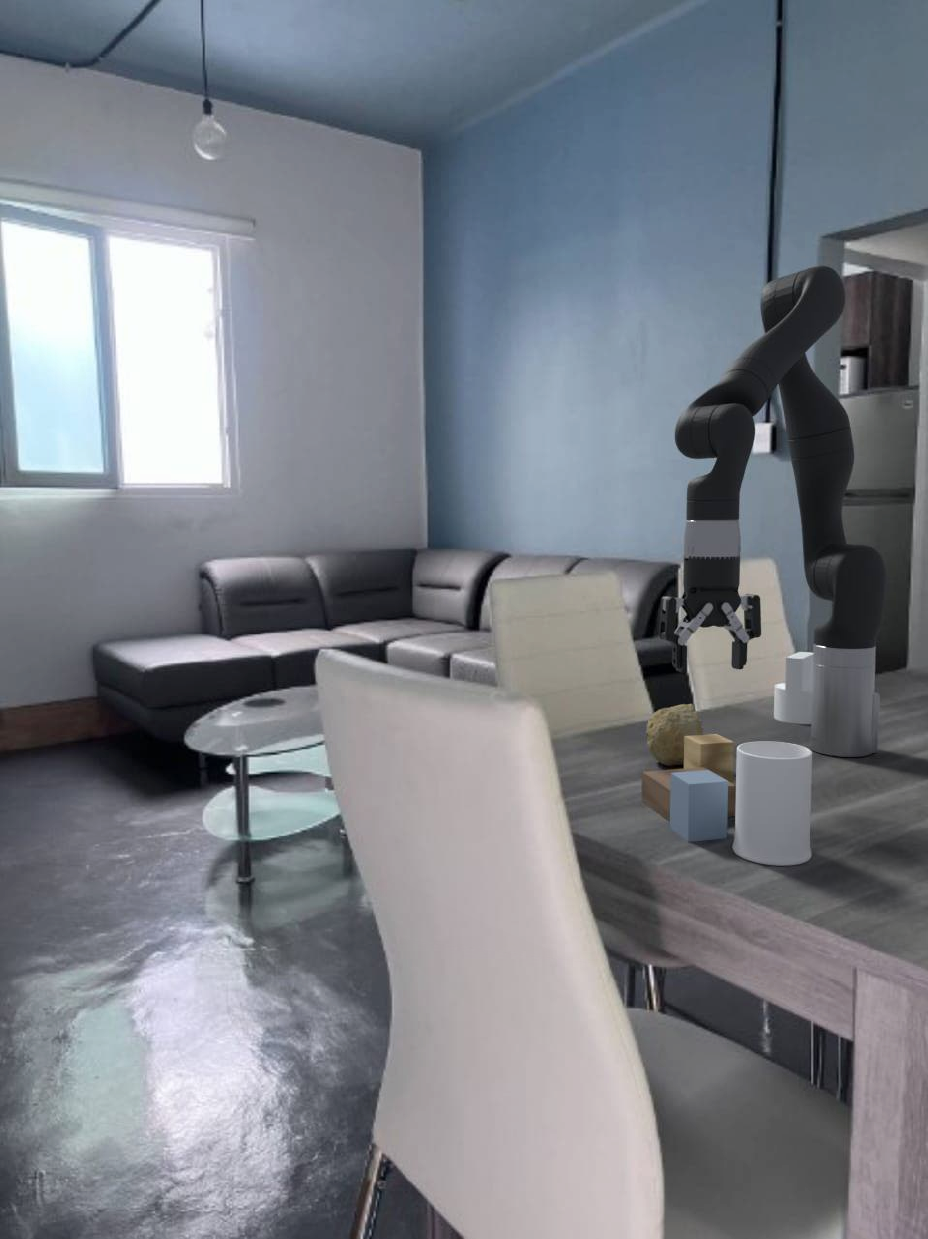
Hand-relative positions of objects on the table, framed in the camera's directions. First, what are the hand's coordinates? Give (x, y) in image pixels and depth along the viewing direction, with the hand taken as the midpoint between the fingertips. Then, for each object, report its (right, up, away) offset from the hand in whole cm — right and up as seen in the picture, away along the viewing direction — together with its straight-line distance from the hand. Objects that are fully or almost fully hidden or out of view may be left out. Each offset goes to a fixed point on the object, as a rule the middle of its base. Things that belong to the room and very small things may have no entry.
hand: (709, 670), depth 129 cm
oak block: (0, -17, +2) cm, 17 cm away
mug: (+1, -20, -22) cm, 29 cm away
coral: (-2, -16, +15) cm, 21 cm away
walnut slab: (-5, -18, -8) cm, 20 cm away
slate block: (-6, -19, -17) cm, 26 cm away
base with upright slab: (+29, -12, +45) cm, 54 cm away
